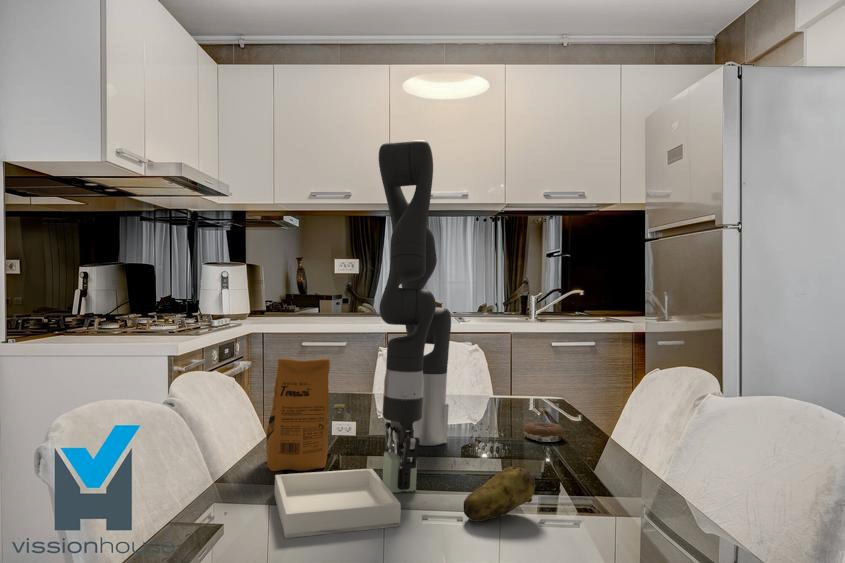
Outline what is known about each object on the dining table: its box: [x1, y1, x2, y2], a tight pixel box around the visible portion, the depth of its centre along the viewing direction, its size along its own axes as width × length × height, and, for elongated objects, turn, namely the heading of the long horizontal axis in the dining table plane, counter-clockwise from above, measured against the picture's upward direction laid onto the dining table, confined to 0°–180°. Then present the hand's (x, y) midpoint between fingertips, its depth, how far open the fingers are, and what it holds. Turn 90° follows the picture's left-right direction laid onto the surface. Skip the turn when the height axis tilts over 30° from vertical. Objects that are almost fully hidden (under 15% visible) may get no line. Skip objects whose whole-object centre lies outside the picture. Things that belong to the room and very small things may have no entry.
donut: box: [522, 422, 565, 438], centre depth 146 cm, size 11×11×4 cm
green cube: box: [382, 451, 418, 494], centre depth 105 cm, size 5×5×6 cm
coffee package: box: [265, 357, 331, 472], centre depth 115 cm, size 10×12×22 cm
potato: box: [463, 466, 536, 522], centre depth 93 cm, size 8×13×8 cm, turn 100°
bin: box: [273, 468, 402, 539], centre depth 92 cm, size 18×18×4 cm
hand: (398, 483), depth 105 cm, fingers closed on green cube, 5 cm apart
